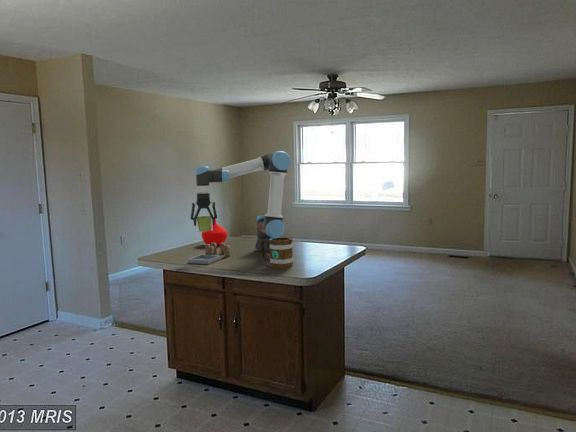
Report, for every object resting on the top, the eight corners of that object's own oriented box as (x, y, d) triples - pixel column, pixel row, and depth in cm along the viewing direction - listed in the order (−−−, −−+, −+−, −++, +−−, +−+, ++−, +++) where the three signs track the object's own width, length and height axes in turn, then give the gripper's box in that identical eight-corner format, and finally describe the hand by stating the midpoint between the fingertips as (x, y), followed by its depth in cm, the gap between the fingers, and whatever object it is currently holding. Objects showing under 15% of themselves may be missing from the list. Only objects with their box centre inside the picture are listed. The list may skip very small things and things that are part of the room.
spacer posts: (236, 254, 289) (235, 243, 288) (222, 259, 273) (221, 248, 272) (212, 252, 295) (212, 242, 295) (198, 258, 280) (197, 246, 279)
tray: (221, 259, 273) (220, 255, 273) (208, 264, 260) (208, 260, 260) (201, 258, 278) (201, 254, 278) (188, 263, 265) (187, 259, 265)
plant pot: (198, 232, 263) (198, 218, 262) (194, 230, 272) (194, 216, 271) (214, 231, 267) (213, 217, 267) (209, 229, 276) (209, 215, 275)
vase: (207, 242, 336) (206, 217, 334) (231, 242, 332) (230, 217, 330) (198, 247, 318) (196, 220, 316) (222, 247, 314) (221, 220, 312)
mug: (298, 264, 255) (297, 237, 253) (286, 269, 243) (285, 241, 241) (268, 261, 264) (267, 236, 263) (255, 266, 253) (254, 239, 251)
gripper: (219, 192, 274) (220, 229, 277) (184, 193, 267) (185, 231, 269) (222, 192, 267) (223, 230, 270) (186, 193, 260) (187, 232, 262)
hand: (204, 230), depth 270 cm, fingers closed on plant pot, 8 cm apart
